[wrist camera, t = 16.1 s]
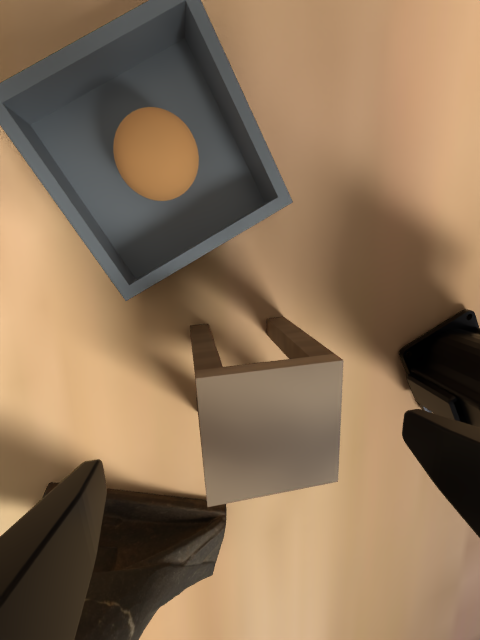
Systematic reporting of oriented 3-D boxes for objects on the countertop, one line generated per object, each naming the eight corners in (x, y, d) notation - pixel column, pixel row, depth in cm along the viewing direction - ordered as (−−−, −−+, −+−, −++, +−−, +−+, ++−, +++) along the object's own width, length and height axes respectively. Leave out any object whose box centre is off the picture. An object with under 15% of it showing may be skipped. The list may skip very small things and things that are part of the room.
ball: (170, 111, 16) (170, 71, 12) (208, 183, 17) (219, 167, 14) (104, 148, 16) (84, 118, 12) (148, 218, 17) (142, 211, 13)
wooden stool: (190, 325, 20) (195, 378, 12) (283, 316, 21) (343, 360, 13) (197, 412, 21) (207, 507, 14) (284, 400, 22) (337, 481, 15)
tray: (188, 25, 16) (190, -23, 13) (276, 208, 19) (292, 202, 16) (16, 122, 15) (-22, 94, 13) (134, 291, 19) (125, 301, 16)
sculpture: (52, 474, 21) (-155, 831, 8) (229, 500, 24) (278, 788, 11) (35, 540, 22) (-173, 949, 9) (207, 557, 25) (230, 880, 12)
